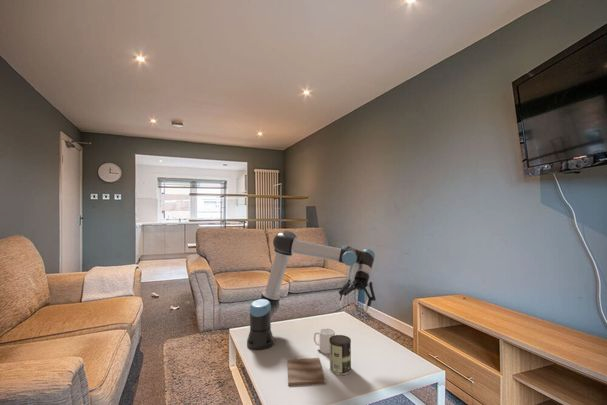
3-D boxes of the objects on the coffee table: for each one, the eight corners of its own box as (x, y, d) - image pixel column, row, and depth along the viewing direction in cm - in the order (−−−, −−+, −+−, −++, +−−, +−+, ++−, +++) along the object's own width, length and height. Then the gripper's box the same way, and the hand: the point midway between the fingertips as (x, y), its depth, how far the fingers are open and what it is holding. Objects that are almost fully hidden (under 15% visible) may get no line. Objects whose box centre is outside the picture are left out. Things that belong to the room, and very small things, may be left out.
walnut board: (287, 361, 146) (287, 359, 146) (319, 360, 148) (319, 357, 148) (288, 385, 126) (288, 382, 127) (324, 383, 128) (324, 380, 128)
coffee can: (349, 363, 144) (349, 334, 145) (352, 375, 134) (352, 344, 134) (328, 363, 144) (328, 334, 145) (330, 375, 134) (330, 344, 135)
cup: (331, 355, 152) (331, 335, 153) (310, 350, 158) (310, 331, 158) (337, 348, 160) (336, 329, 160) (316, 344, 165) (316, 326, 165)
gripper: (386, 280, 159) (378, 317, 146) (344, 275, 172) (333, 308, 159) (383, 272, 154) (374, 309, 141) (340, 268, 168) (328, 301, 155)
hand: (352, 309), depth 150 cm, fingers open, 13 cm apart
